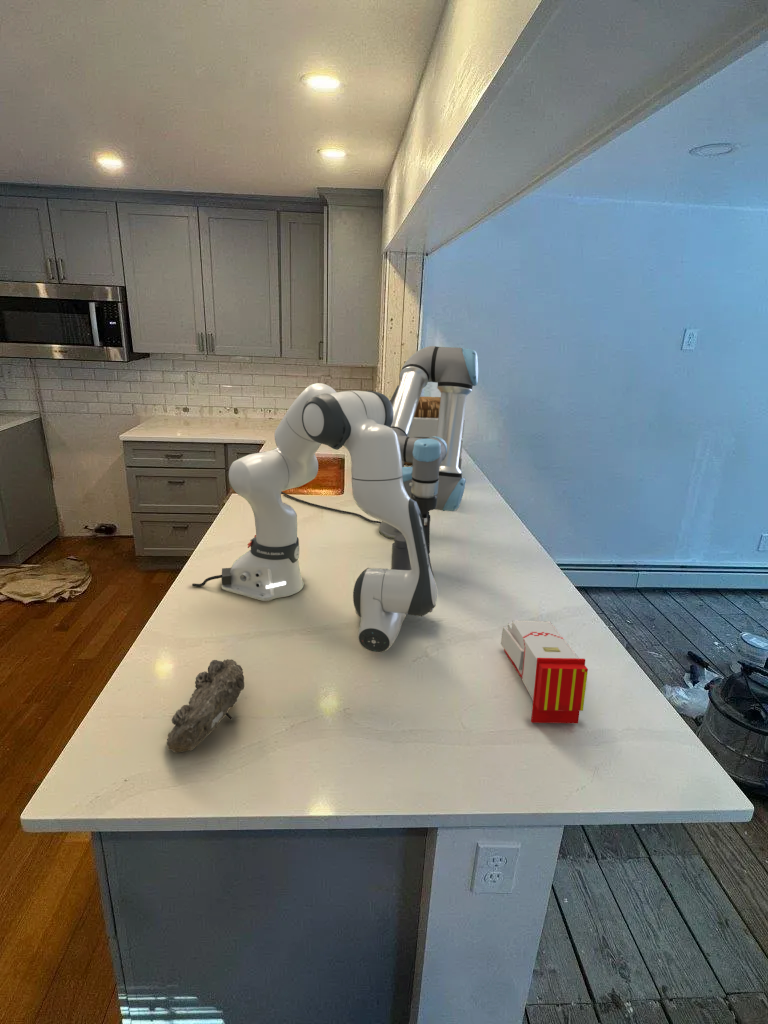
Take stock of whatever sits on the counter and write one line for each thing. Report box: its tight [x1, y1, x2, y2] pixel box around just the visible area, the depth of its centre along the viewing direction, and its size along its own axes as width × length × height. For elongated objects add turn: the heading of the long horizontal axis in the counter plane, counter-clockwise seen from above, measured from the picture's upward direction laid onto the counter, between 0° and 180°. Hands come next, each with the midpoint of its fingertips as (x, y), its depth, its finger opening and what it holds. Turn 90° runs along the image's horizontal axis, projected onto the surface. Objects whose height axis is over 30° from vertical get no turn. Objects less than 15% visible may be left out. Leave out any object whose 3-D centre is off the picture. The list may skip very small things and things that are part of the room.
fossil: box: [166, 658, 245, 754], centre depth 106 cm, size 22×10×15 cm
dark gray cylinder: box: [390, 535, 411, 570], centre depth 149 cm, size 5×5×19 cm
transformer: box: [389, 384, 465, 472], centre depth 268 cm, size 34×33×41 cm
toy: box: [500, 620, 589, 724], centre depth 121 cm, size 12×13×30 cm
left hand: (400, 582), depth 151 cm, fingers closed on dark gray cylinder, 5 cm apart
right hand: (419, 561), depth 168 cm, fingers open, 13 cm apart
